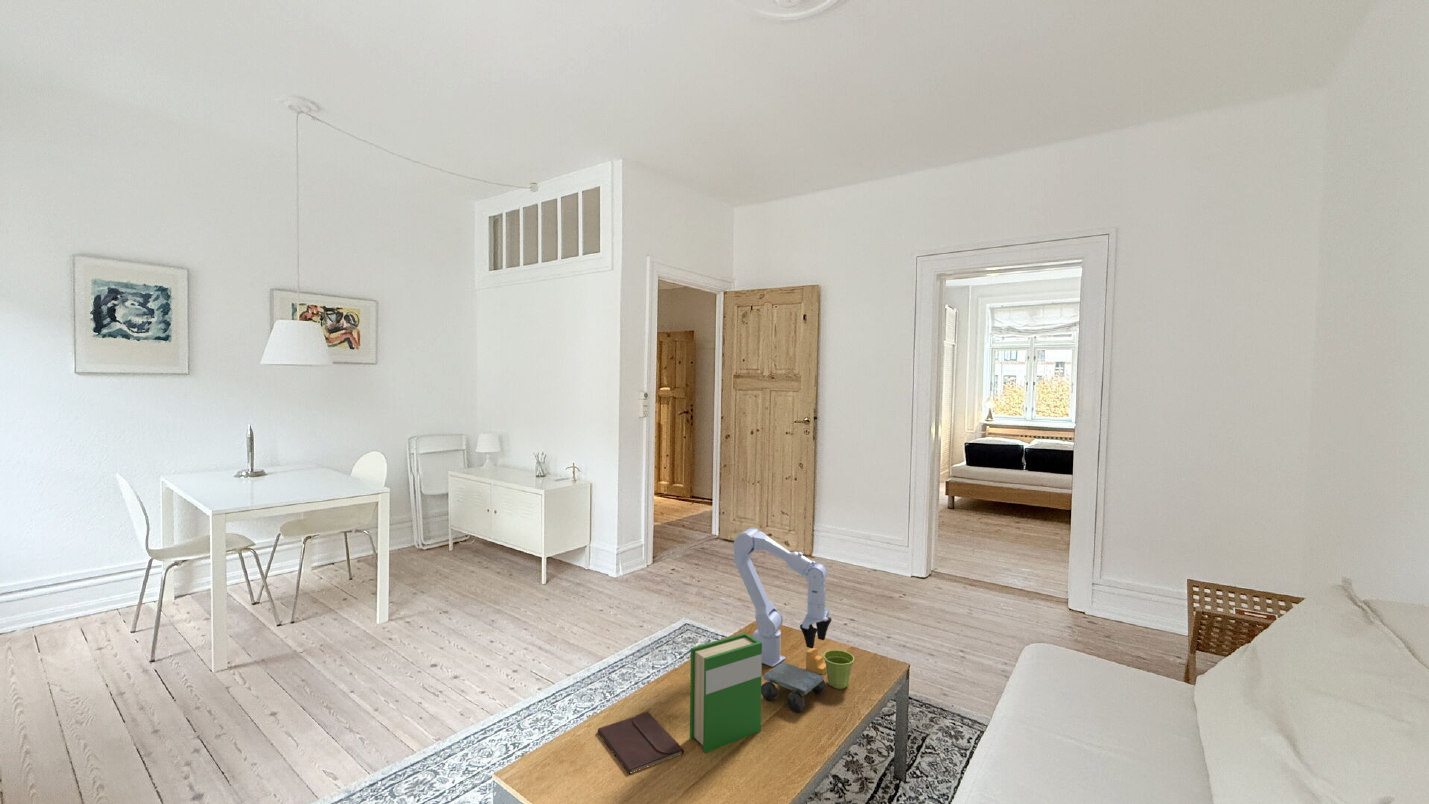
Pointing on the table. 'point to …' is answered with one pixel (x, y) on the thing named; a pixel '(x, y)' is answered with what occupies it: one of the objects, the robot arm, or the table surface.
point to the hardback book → (725, 691)
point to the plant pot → (838, 667)
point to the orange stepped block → (815, 662)
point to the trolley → (792, 684)
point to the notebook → (639, 742)
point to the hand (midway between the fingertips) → (815, 643)
